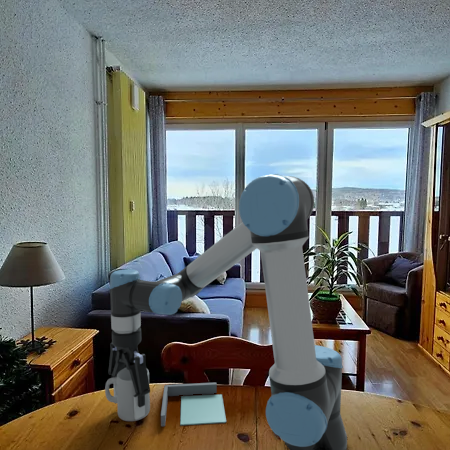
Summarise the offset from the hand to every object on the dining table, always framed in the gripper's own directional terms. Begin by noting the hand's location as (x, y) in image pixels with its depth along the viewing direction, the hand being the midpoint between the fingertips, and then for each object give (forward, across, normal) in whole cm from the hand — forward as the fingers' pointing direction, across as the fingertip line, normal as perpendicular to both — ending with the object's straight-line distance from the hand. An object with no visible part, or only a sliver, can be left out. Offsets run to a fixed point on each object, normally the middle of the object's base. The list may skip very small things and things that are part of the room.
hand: (129, 408), depth 100 cm
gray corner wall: (+2, -9, -14) cm, 17 cm away
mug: (+1, +1, 0) cm, 2 cm away
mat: (+2, -12, -16) cm, 20 cm away
